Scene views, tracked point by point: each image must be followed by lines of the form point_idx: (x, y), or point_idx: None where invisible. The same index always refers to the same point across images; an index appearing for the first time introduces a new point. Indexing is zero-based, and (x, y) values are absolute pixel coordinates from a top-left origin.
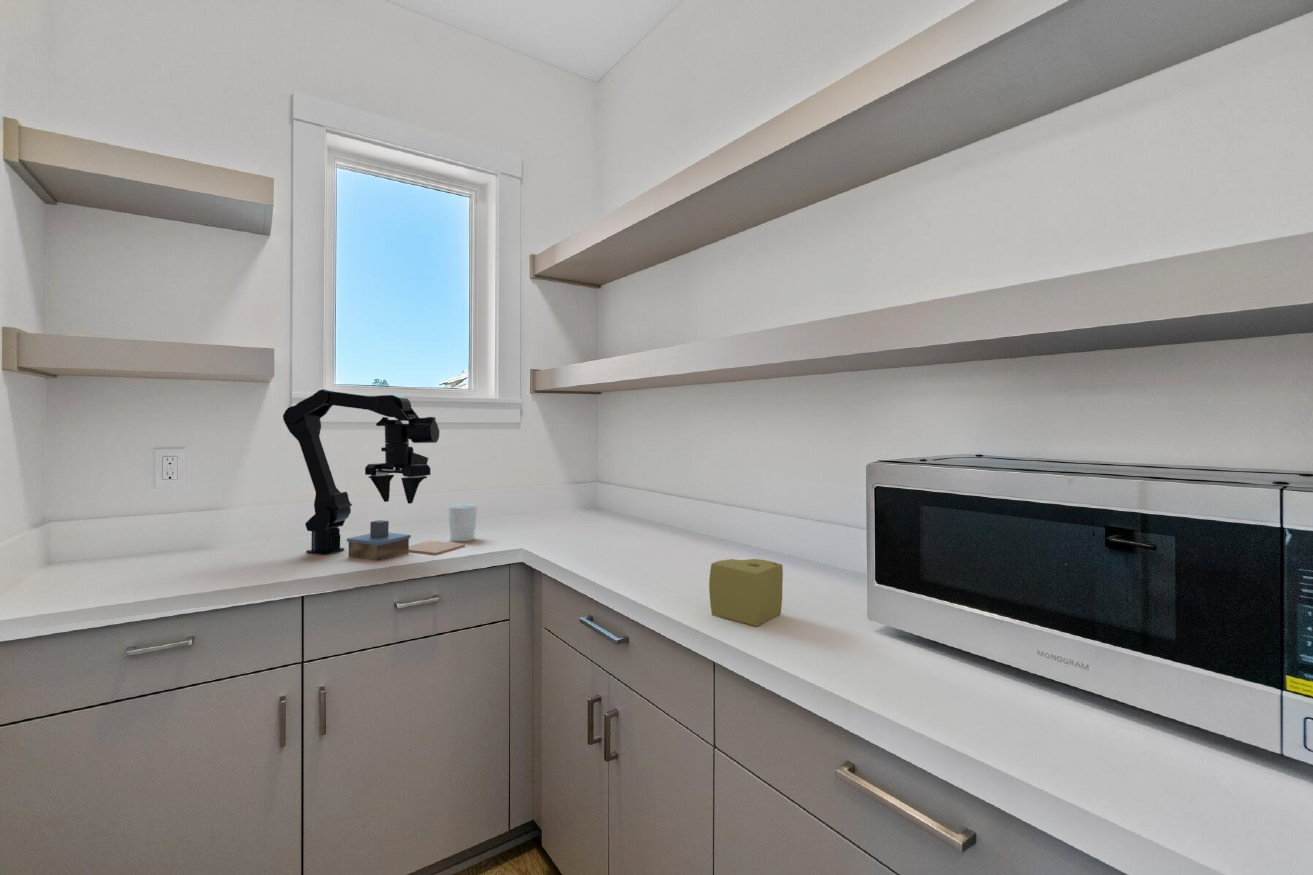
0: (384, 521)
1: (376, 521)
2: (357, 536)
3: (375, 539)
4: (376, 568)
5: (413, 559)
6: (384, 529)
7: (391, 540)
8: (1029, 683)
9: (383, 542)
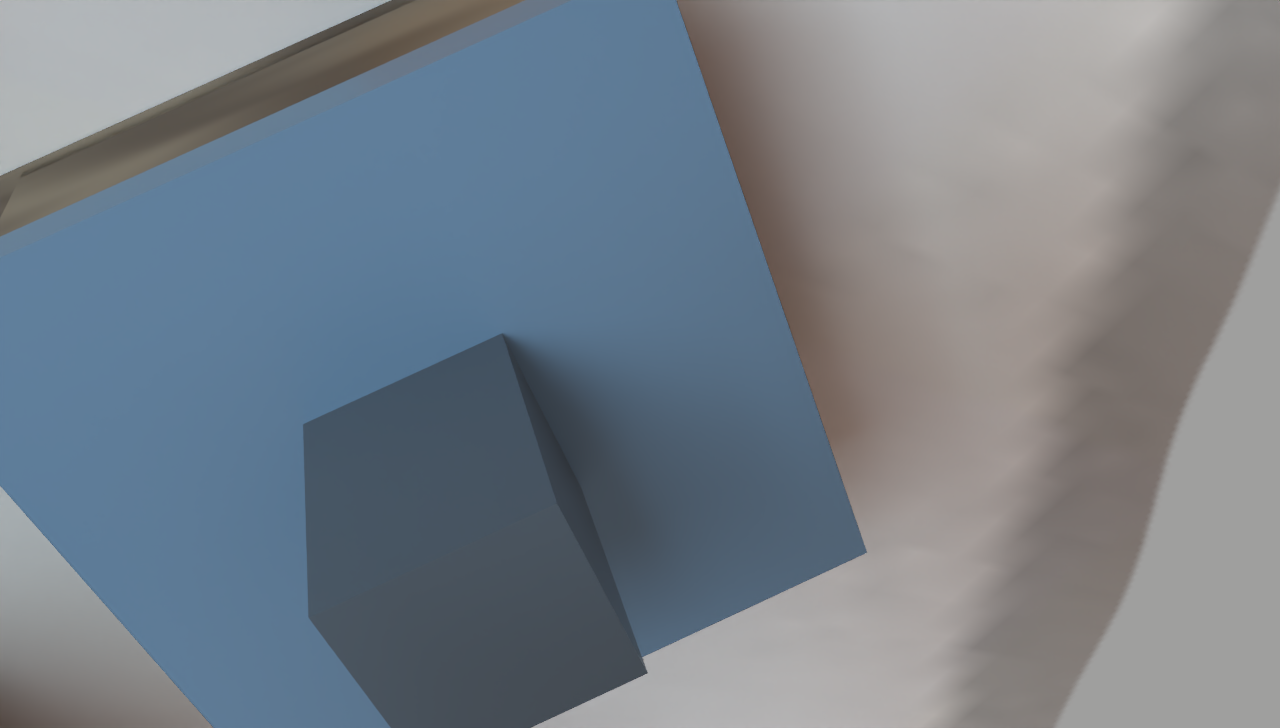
0: (567, 579)
1: (463, 692)
2: (204, 697)
3: (643, 553)
4: (1022, 503)
5: (988, 55)
6: (564, 484)
7: (800, 369)
8: None
9: (842, 490)
